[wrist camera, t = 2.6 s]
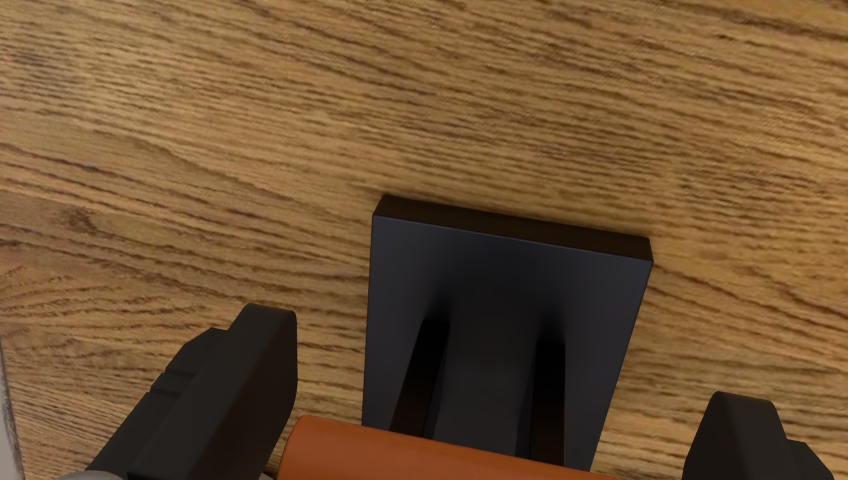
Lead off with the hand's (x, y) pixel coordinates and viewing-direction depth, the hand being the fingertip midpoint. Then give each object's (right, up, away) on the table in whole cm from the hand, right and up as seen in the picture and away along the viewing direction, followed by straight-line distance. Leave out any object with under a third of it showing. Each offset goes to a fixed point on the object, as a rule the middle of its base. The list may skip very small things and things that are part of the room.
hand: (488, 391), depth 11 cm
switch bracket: (+1, -2, +15) cm, 15 cm away
